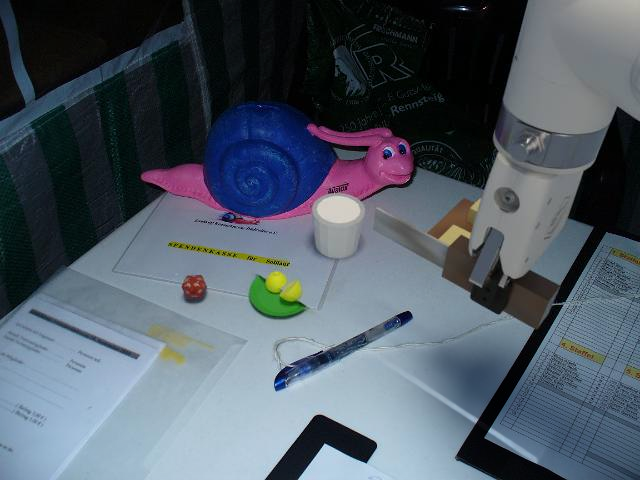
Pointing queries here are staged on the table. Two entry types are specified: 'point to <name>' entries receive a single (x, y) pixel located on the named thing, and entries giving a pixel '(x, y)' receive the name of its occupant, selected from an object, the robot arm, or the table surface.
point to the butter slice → (473, 212)
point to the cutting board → (454, 219)
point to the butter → (453, 234)
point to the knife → (470, 268)
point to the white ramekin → (337, 224)
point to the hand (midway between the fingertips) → (494, 294)
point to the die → (194, 286)
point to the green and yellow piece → (276, 295)
